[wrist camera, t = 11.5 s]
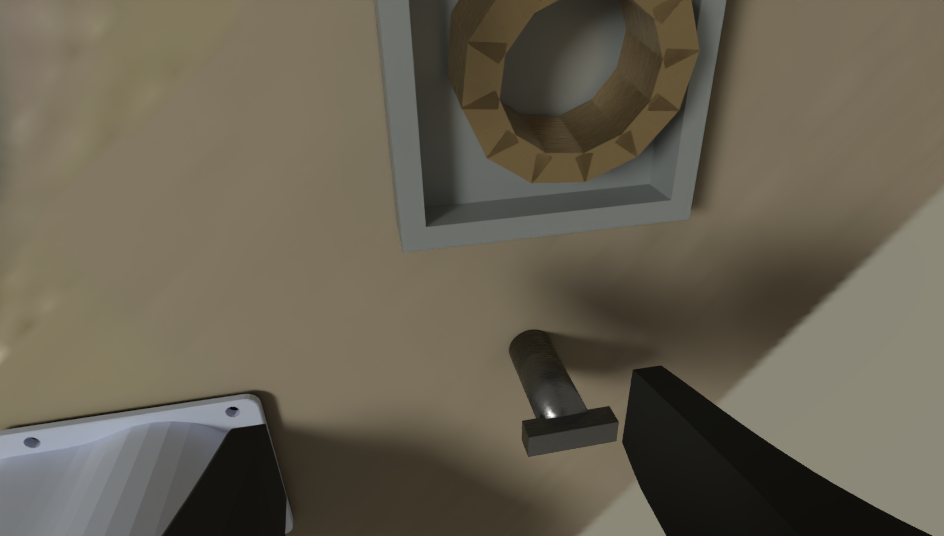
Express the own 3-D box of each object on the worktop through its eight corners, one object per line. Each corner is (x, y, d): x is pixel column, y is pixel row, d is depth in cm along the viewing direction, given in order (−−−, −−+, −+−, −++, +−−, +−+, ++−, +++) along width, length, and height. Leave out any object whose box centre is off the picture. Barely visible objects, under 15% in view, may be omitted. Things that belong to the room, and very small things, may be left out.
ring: (441, 144, 18) (457, 194, 16) (465, -197, 13) (494, -194, 11) (623, 143, 20) (661, 189, 18) (713, -166, 14) (786, -158, 12)
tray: (397, 224, 20) (402, 252, 18) (355, -180, 15) (357, -199, 13) (659, 196, 22) (689, 219, 20) (711, -178, 16) (759, -196, 14)
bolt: (493, 370, 24) (527, 465, 20) (492, 335, 23) (528, 427, 19) (564, 359, 25) (615, 450, 20) (566, 325, 24) (620, 412, 19)
